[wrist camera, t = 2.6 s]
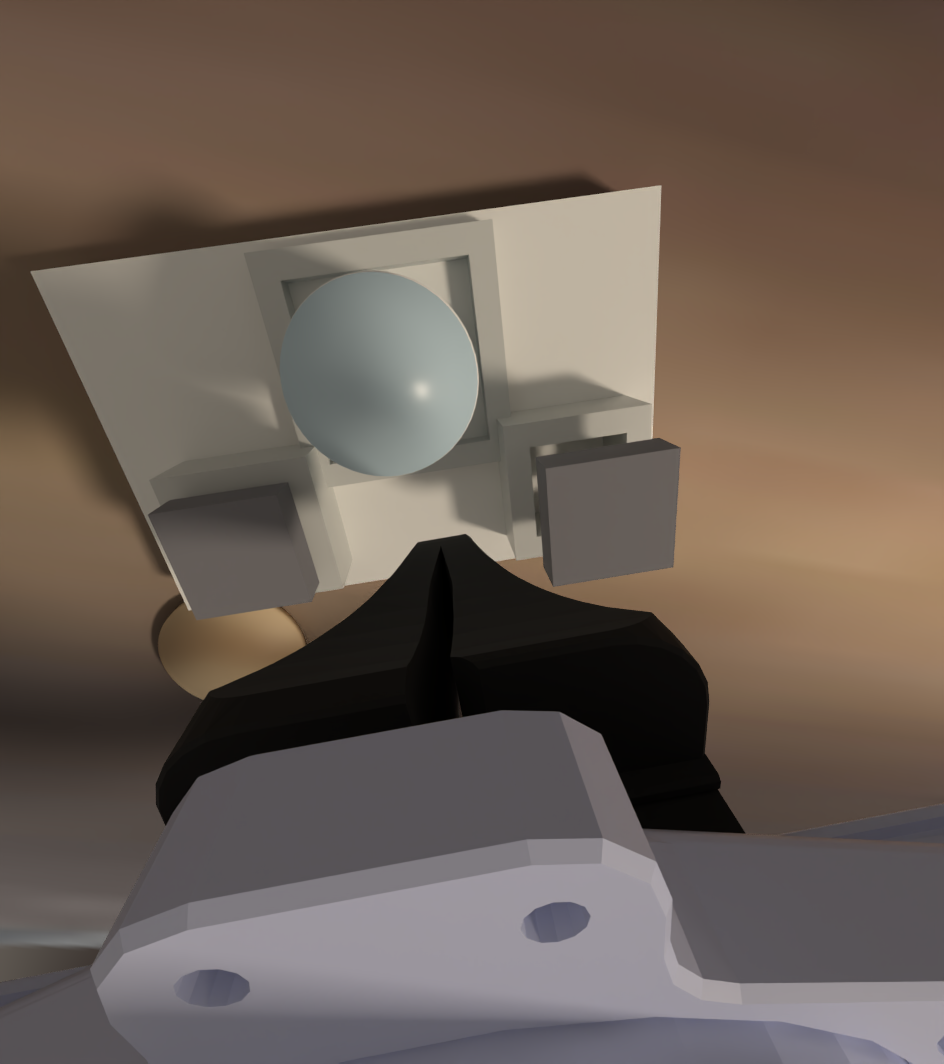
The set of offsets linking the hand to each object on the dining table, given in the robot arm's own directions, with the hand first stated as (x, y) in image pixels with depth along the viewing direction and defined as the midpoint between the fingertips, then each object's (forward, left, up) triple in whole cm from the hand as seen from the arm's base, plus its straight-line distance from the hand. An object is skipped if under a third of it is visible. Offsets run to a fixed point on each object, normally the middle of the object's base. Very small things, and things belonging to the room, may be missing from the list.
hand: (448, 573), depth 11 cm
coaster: (-7, +11, -8) cm, 15 cm away
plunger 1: (0, +6, -6) cm, 8 cm away
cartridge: (+5, +1, -6) cm, 8 cm away
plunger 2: (0, -5, -4) cm, 6 cm away
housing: (+3, +1, -8) cm, 9 cm away
